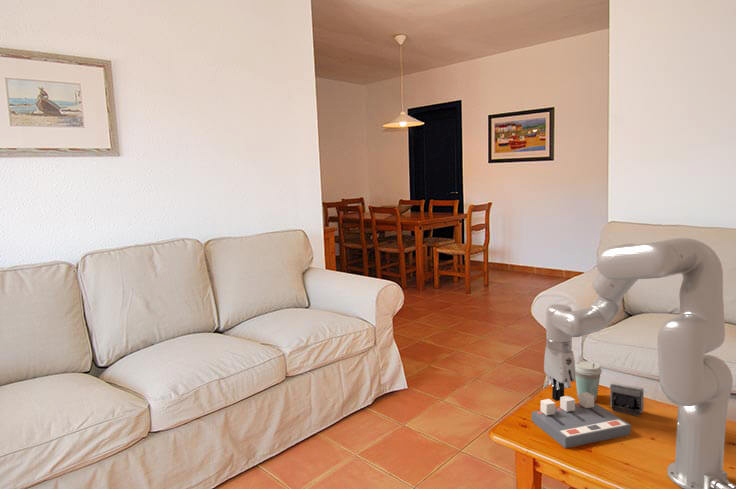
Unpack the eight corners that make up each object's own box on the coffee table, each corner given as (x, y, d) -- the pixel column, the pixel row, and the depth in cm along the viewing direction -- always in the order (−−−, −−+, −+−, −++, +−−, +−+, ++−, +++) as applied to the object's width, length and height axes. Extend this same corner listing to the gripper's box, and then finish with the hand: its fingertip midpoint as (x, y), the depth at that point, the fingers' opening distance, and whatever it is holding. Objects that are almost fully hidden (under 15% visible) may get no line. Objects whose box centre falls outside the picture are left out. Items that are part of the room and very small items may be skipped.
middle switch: (574, 410, 147) (575, 399, 147) (566, 411, 146) (566, 401, 146) (568, 406, 150) (568, 395, 150) (560, 407, 149) (560, 396, 149)
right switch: (594, 406, 149) (594, 396, 148) (585, 408, 148) (586, 397, 148) (587, 402, 152) (587, 392, 151) (579, 404, 151) (579, 393, 151)
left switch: (555, 413, 145) (555, 403, 145) (546, 415, 145) (546, 404, 144) (548, 409, 148) (549, 398, 148) (540, 411, 148) (540, 400, 147)
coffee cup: (590, 406, 156) (591, 371, 154) (567, 397, 163) (568, 363, 161) (606, 399, 160) (607, 365, 158) (583, 390, 167) (584, 358, 166)
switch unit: (630, 434, 138) (630, 424, 138) (565, 448, 133) (565, 437, 132) (591, 409, 154) (591, 400, 153) (531, 420, 148) (531, 411, 148)
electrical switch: (643, 412, 151) (644, 385, 149) (642, 420, 147) (643, 393, 145) (610, 405, 156) (610, 379, 154) (608, 413, 152) (608, 387, 150)
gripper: (585, 350, 144) (584, 408, 146) (554, 335, 158) (553, 388, 161) (564, 353, 142) (563, 411, 144) (534, 338, 156) (534, 391, 159)
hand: (558, 399), depth 152 cm, fingers closed
